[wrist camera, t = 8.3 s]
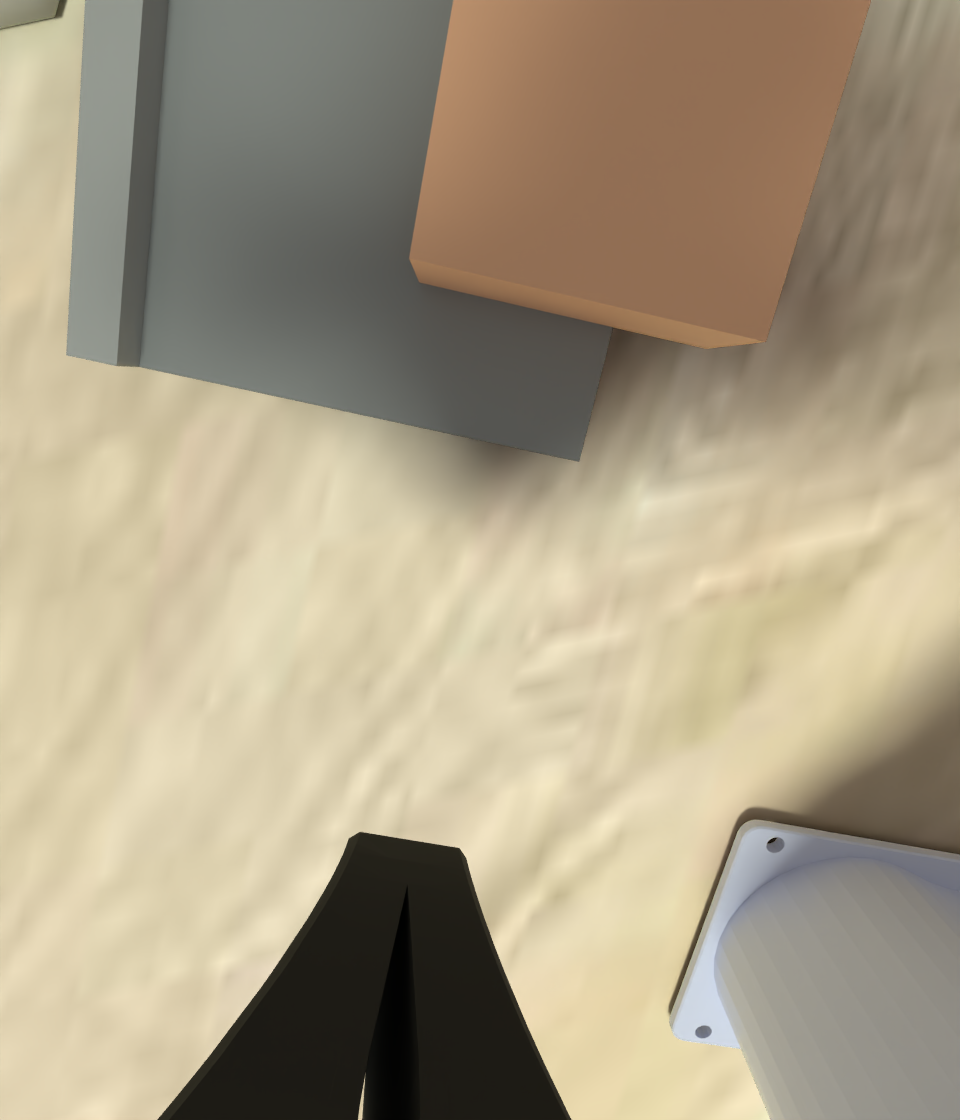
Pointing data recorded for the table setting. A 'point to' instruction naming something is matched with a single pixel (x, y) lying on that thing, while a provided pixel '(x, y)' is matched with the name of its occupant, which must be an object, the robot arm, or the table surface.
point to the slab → (631, 157)
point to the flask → (26, 11)
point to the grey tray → (295, 221)
